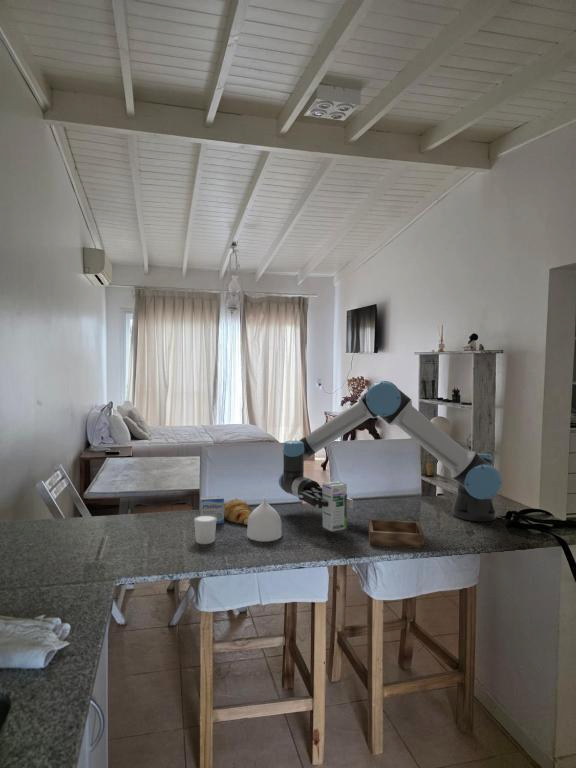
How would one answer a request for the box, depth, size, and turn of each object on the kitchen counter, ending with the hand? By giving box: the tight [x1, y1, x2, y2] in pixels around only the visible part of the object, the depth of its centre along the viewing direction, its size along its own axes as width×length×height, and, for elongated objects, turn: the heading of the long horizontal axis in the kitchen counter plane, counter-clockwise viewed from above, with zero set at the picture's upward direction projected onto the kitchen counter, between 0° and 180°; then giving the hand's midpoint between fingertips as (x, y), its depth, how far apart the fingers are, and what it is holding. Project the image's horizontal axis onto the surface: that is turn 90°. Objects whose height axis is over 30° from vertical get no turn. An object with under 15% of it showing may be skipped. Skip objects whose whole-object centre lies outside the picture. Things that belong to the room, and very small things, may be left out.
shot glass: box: [193, 515, 217, 545], centre depth 154 cm, size 7×7×7 cm
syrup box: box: [322, 481, 348, 532], centre depth 161 cm, size 6×6×14 cm
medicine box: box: [199, 495, 225, 525], centre depth 172 cm, size 8×4×9 cm, turn 104°
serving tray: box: [367, 518, 425, 549], centre depth 157 cm, size 16×13×4 cm
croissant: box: [224, 498, 253, 526], centre depth 177 cm, size 21×10×8 cm, turn 33°
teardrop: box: [246, 498, 283, 542], centre depth 159 cm, size 11×11×12 cm
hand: (343, 505), depth 156 cm, fingers closed on syrup box, 6 cm apart
